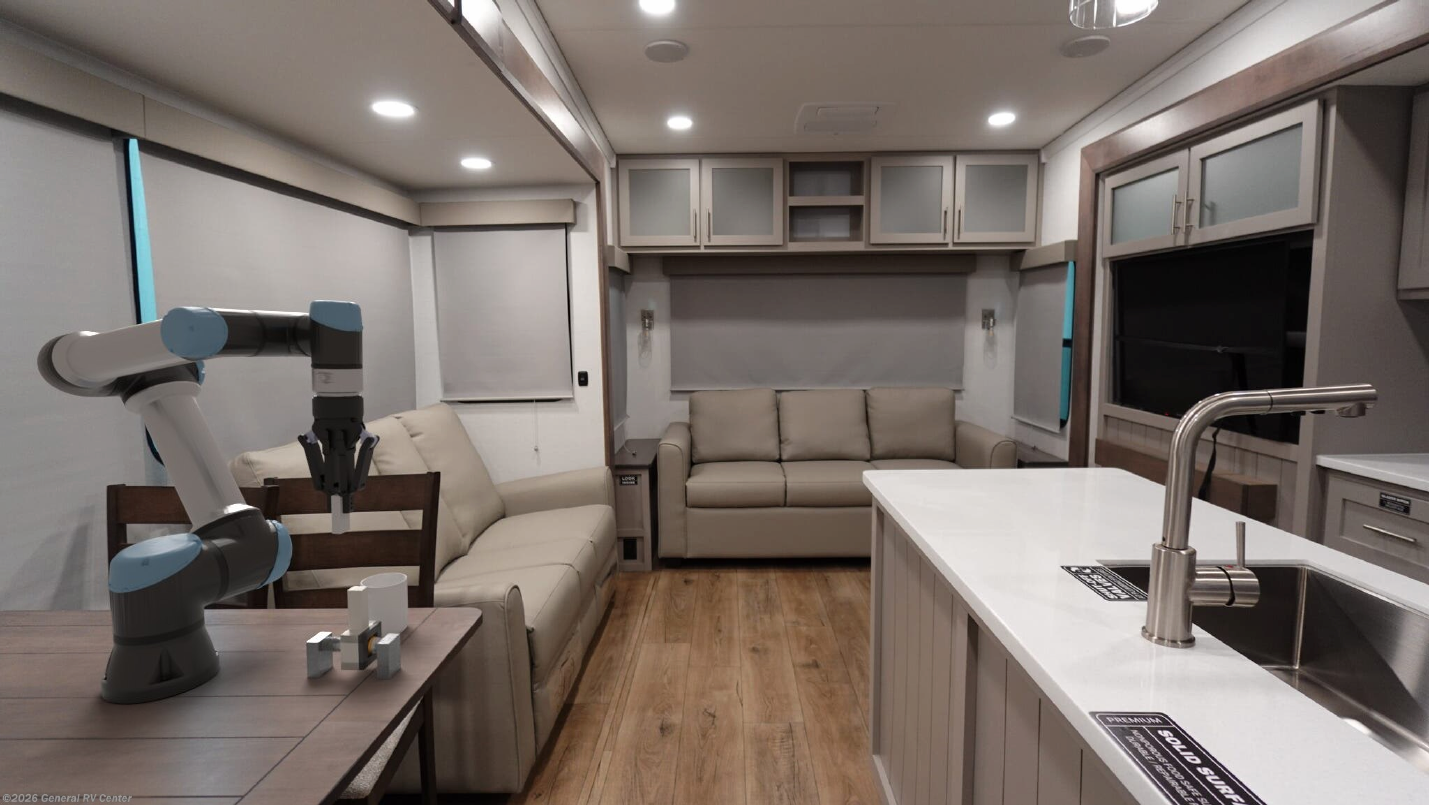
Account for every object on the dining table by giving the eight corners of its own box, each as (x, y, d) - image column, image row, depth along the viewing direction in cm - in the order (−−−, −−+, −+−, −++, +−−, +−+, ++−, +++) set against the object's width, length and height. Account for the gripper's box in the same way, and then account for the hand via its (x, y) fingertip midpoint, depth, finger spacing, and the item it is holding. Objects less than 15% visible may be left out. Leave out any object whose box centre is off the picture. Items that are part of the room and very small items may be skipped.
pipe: (307, 677, 112) (306, 641, 111) (321, 666, 115) (320, 631, 115) (389, 679, 111) (388, 643, 111) (400, 667, 115) (399, 633, 115)
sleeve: (341, 669, 110) (338, 594, 109) (360, 653, 116) (358, 581, 115) (363, 670, 110) (361, 595, 109) (382, 653, 116) (380, 582, 115)
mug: (367, 651, 121) (365, 597, 121) (334, 643, 124) (332, 590, 124) (417, 625, 133) (416, 576, 132) (386, 618, 136) (385, 570, 135)
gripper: (284, 394, 106) (288, 536, 108) (364, 396, 106) (366, 539, 108) (313, 391, 114) (317, 524, 116) (388, 393, 113) (390, 526, 116)
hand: (341, 531), depth 112 cm, fingers closed
